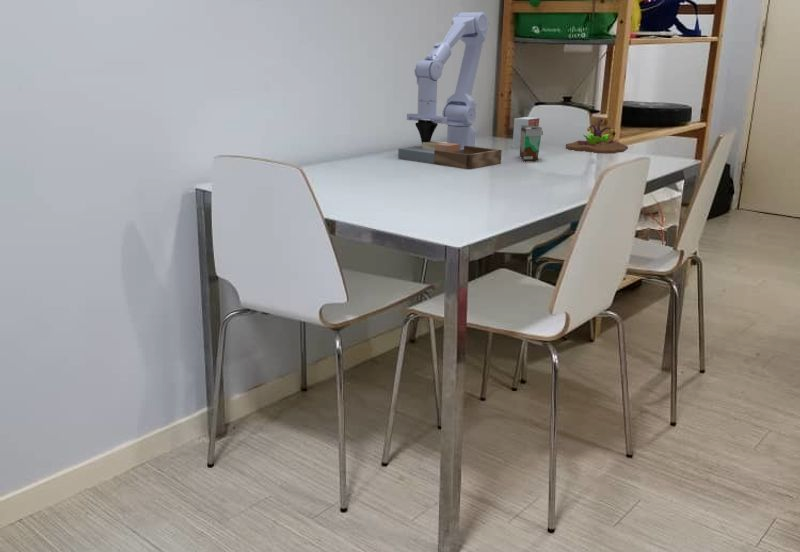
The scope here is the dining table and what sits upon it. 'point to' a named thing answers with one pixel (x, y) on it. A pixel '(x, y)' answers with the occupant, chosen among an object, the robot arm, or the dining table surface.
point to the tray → (468, 157)
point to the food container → (530, 142)
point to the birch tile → (430, 145)
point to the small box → (517, 128)
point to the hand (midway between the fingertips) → (425, 145)
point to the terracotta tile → (447, 147)
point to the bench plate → (419, 154)
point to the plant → (597, 142)
